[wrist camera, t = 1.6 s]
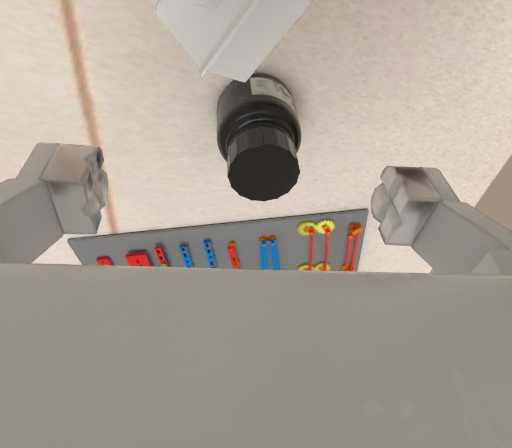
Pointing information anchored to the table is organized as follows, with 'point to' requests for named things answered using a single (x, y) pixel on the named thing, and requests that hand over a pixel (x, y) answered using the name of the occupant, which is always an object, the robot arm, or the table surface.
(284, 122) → the ink bottle
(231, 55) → the milk carton
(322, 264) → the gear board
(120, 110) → the table surface
